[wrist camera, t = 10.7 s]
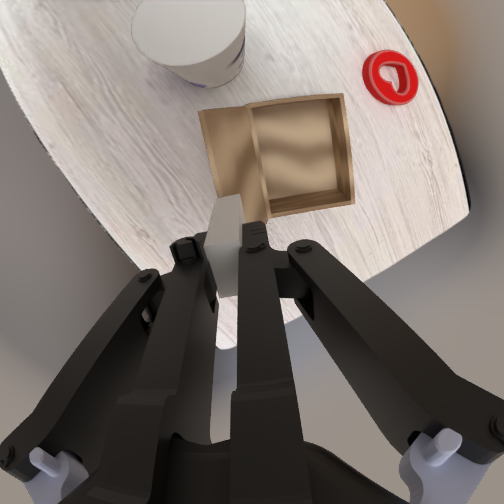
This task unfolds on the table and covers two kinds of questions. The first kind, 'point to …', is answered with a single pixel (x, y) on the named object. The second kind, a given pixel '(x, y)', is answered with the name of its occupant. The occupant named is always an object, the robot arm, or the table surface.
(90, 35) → the table surface
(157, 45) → the container
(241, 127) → the lid
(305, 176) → the wooden box
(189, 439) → the robot arm
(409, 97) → the decorative ornament
